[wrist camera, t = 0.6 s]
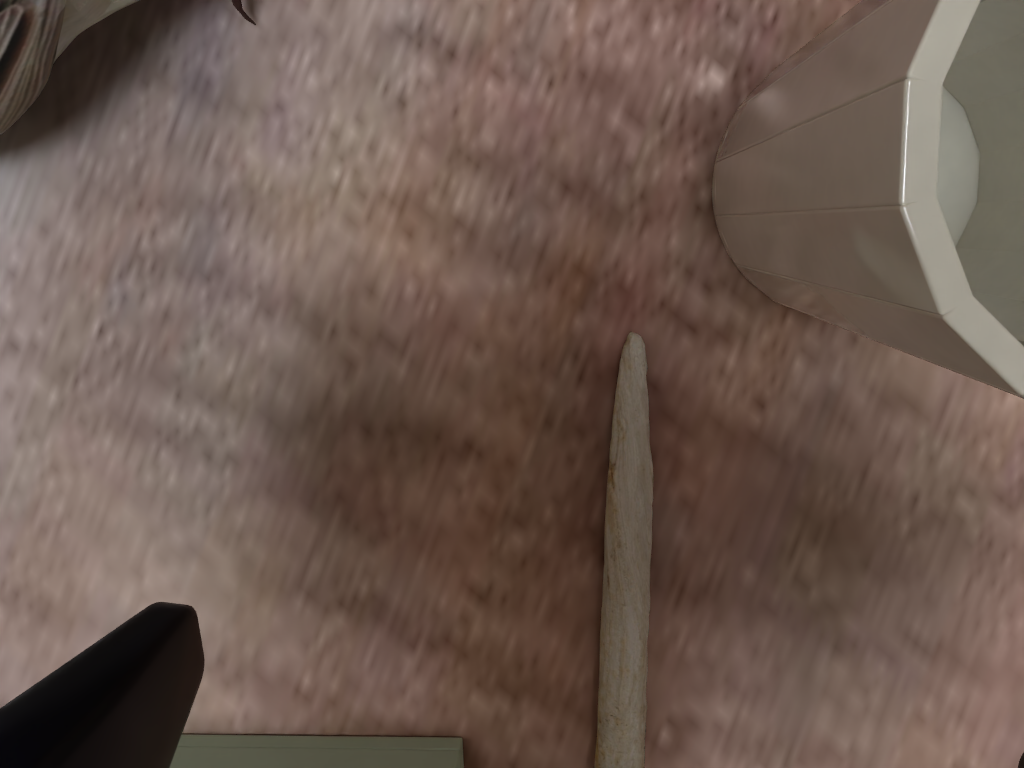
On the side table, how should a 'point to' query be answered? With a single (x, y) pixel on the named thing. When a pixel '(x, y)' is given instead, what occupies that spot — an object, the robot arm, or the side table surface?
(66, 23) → the decorative bird
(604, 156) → the side table surface
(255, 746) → the bus tub
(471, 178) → the side table surface
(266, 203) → the side table surface
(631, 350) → the tool
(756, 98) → the tumbler
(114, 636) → the robot arm
